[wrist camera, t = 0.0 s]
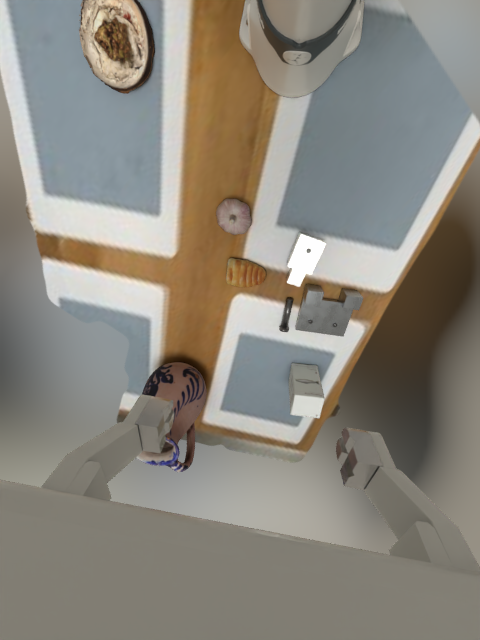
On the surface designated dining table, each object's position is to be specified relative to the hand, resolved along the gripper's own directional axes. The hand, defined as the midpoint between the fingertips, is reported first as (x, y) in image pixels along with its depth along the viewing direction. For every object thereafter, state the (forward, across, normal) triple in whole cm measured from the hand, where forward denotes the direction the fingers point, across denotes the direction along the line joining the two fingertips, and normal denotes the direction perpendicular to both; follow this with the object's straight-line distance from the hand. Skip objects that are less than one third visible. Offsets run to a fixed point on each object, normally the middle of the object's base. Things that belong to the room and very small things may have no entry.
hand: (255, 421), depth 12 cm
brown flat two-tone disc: (+49, +30, -29) cm, 64 cm away
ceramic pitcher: (+48, +19, +45) cm, 69 cm away
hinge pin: (+48, -7, +17) cm, 52 cm away
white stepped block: (+48, -8, +4) cm, 49 cm away
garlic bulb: (+48, +8, -4) cm, 49 cm away
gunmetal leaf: (+48, -16, +16) cm, 53 cm away
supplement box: (+48, -15, +36) cm, 62 cm away
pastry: (+48, +5, +8) cm, 49 cm away
